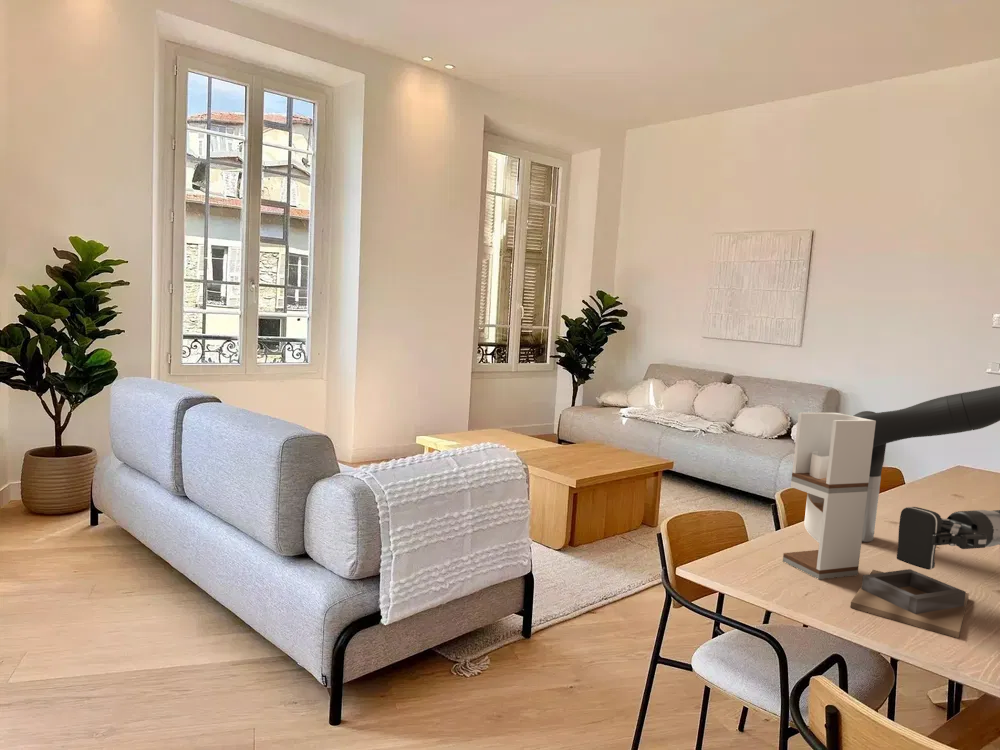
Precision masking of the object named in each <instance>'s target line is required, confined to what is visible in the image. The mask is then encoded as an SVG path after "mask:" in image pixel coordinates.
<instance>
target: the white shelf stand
mask: <svg viewBox="0 0 1000 750" xmlns="http://www.w3.org/2000/svg"><path fill="white" fill-rule="evenodd" d="M797 414H798V415H797V424H796V426H797V427H796V433H795V442H794V443H795V444H794V453H793V462H792V471H791V480H790V481H791V482H790V488H792V489H796V490H799V491H802V492H804V493H807V495H806V504H805V515H804V521H803V523H804V528H805V530H806V531H807V533H808V534H809V535H810V537H811V538H812V539H813V540H815V541H816V542H817V543H818V549H815V550H814V549H813V550H802V551H790V552H783V554H782V555H783V556H782V562H783V561H784V562H786V563H788V564H790V565H792V566H794V567H796V568H798V569H800V570H802V571H804V572H806V573H808V574H810V575H809V576H811V575H812V576H811V577H813V576H814V577H813V578H815V577H816V578H815V579H817V578H818V579H817V580H825V579H824V578H828V579H835V578H834V577H837V578H844V576H845V577H852V576H853V575H854V576H858V574H859V567H860V566H859V564H860V559H861V558H860V557H861V550H862V542H863V541H862V534H863V525H864V517H865V508H866V500H867V492H868V483H869V475H870V466H871V458H872V450H873V441H874V433H875V424H876V421H874V420H870V419H865V418H860V417H855V416H853V415H849V414H846V413H845V414H844V413H840V412H798V413H797ZM784 562H783V563H784ZM786 563H785V564H786ZM788 564H787V565H788ZM790 565H789V566H790ZM792 566H791V567H792ZM794 567H793V568H794ZM796 568H795V569H796ZM798 569H797V570H798ZM800 570H799V571H800ZM802 571H801V572H802ZM804 572H803V573H804ZM806 573H805V574H806ZM808 574H807V575H808ZM854 576H853V577H854Z"/></svg>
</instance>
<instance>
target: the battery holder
mask: <svg viewBox="0 0 1000 750" xmlns="http://www.w3.org/2000/svg"><path fill="white" fill-rule="evenodd" d="M969 595H970V594H969V592H967V591H965V590H962V589H960V588H958V587H955V586H953V585H951V584H948V583H945V582H942V581H941V580H938V579H936V578H933V577H931V576H929V575H926V574H923V573H921V572H918V571H916V570H913V569H911V568H909V569H901V570H900V569H899V570H894V571H893V570H892V571H887V572H884V571H880V570H876V569H871V571H870V573H868V574H863V575H862V583H861V586H860V588H859V589H858V591H857V593H855V596H853V598H852V599H851V601H850V606H849V607H851V608H850V609H853V608H854V610H856V611H860V610H861V611H860V612H864V613H867V612H868V613H869V614H871V615H876V616H877V617H882V618H886V619H889V620H893V621H896V622H899V623H903V624H907V625H909V626H914V627H918V628H921V629H924V630H927V631H932V632H935V633H938V634H940V635H941V634H942V635H945V636H948V637H953V638H955V639H959V637H960V634H961V630H962V624H963V621H964V618H965V617H964V616H965V613H966V609H967V605H968V600H969Z"/></svg>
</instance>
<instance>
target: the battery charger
mask: <svg viewBox="0 0 1000 750" xmlns="http://www.w3.org/2000/svg"><path fill="white" fill-rule="evenodd" d="M941 518H942V517H941V515H940V514H939V513H938V512H936V511H932V510H930V509H927V508H922V507H918V506H905V508H903V509H902V510H901V512H900V516H899V523H898V538H897V541H898V543H897V552H896V559H897V560H898V561H900V562H903V563H906V564H909V565H912V566H915V567H918V568H921V569H925V570H933V569H934V568H935V566H936V565H935V564H936V562H935V554H936V549H937V545H933V544H932V543H931V541H932V535H933V534H934V533H941V527H942V519H941Z"/></svg>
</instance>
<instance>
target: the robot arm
mask: <svg viewBox="0 0 1000 750" xmlns="http://www.w3.org/2000/svg"><path fill="white" fill-rule="evenodd" d="M852 416H855V417H860V418H865V419H870V420H874V421H876V424H875V433H874V441H873V450H872V458H871V466H870V475H869V483H868V492H867V500H866V508H865V517H864V525H863V534H862V542H864V543H866V542H873V540H874V536H875V529H876V521H877V510H878V506H879V505H878V503H879V495H880V487H881V480H882V471H883V466H884V461H885V456H886V448H887V444H889V443H893V442H897V441H901V440H906V439H913V438H923V437H925V438H926V437H934V436H935V437H936V436H943V435H951V434H957V433H958V434H960V433H964V432H971V431H976V430H980V429H981V430H982V429H984V428H987V427H989V426H992V425H993V424H997V423H998V422H1000V385H996V386H993V387H992V386H991V387H986V388H982V389H977V390H971V391H967V392H959V393H954V394H949V395H945V396H940V397H936V398H933V399H929V400H926V401H923V402H919V403H917V404H914V405H911V406H909V407H904V408H901V409H895V410H890V411H888V410H887V411H881V412H875V411H870V410H863V411H860V412H857V413H855V414H854V415H852ZM941 519H942V527H941V533H934V534H933V535H932V541H931V543H932V544H933V545H936V546H946V545H949V546H951V547H958V548H960V549H961V550H970V549H971V550H972V549H986V548H988V547H989V548H990V547H995V546H998V545H999V546H1000V509H997V510H986V509H977V510H975V509H974V510H962V511H961V510H959V511H954V512H952V513H951V514H950V515H949V516H947V518H944V517H941Z"/></svg>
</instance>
